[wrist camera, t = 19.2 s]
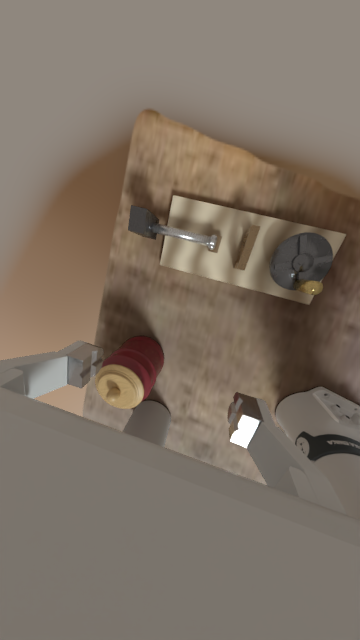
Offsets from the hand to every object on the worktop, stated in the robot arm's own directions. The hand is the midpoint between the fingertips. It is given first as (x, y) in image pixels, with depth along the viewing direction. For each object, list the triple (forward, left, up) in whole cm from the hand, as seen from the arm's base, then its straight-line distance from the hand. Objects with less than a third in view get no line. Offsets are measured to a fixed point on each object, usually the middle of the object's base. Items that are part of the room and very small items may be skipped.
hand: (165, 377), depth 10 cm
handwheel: (-16, -11, -29) cm, 35 cm away
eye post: (-6, -11, -32) cm, 34 cm away
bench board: (-6, -11, -33) cm, 35 cm away
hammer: (+8, -11, -31) cm, 34 cm away
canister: (+11, +22, -33) cm, 41 cm away
